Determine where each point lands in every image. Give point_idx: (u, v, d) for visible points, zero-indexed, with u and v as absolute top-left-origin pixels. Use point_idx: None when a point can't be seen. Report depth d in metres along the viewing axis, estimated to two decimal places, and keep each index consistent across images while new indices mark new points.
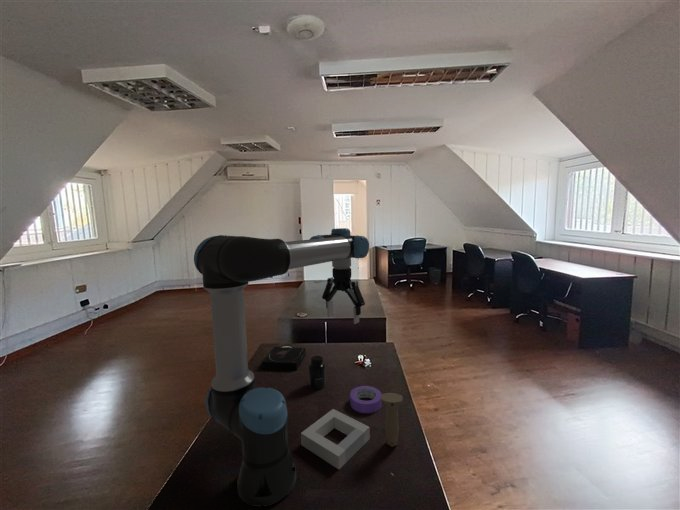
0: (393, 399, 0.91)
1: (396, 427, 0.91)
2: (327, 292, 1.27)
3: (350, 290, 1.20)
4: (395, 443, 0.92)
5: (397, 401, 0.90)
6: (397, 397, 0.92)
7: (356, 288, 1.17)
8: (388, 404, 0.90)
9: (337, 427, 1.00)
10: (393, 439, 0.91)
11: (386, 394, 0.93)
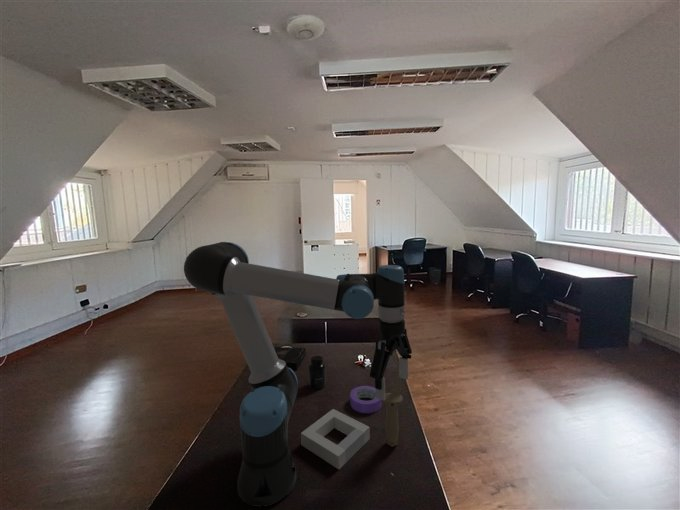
0: (393, 399, 0.91)
1: (396, 427, 0.91)
2: (403, 346, 0.96)
3: (385, 352, 0.87)
4: (395, 443, 0.92)
5: (397, 401, 0.90)
6: (397, 397, 0.92)
7: (377, 352, 0.84)
8: (388, 404, 0.90)
9: (337, 427, 1.00)
10: (393, 439, 0.91)
11: (386, 394, 0.93)
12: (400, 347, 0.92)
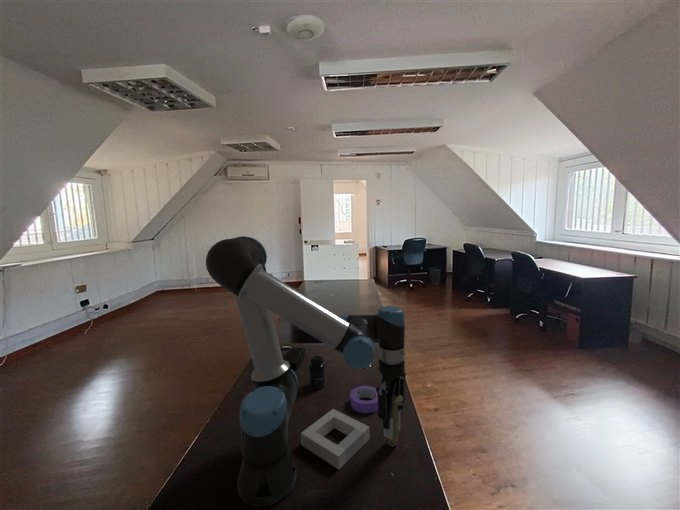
0: (393, 399, 0.91)
1: (396, 427, 0.91)
2: None
3: (387, 394, 0.89)
4: (395, 443, 0.92)
5: (397, 401, 0.90)
6: (397, 397, 0.92)
7: (380, 397, 0.87)
8: None
9: (337, 427, 1.00)
10: (393, 439, 0.91)
11: None
12: (397, 390, 0.92)
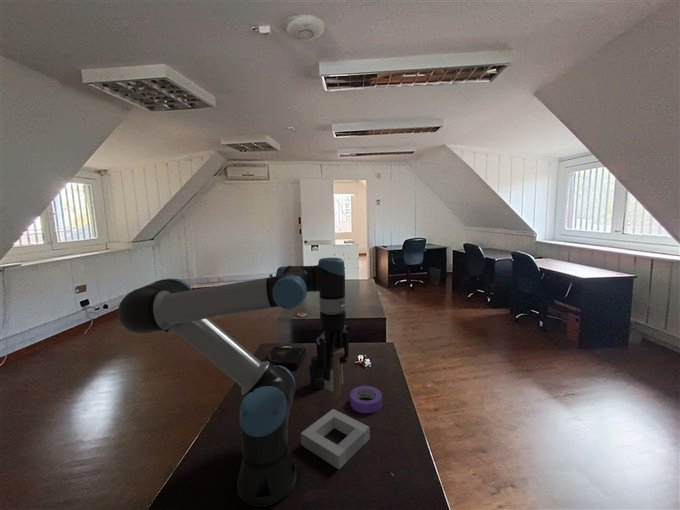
0: (334, 350, 0.90)
1: (337, 379, 0.91)
2: None
3: (327, 345, 0.89)
4: (337, 396, 0.91)
5: (337, 352, 0.89)
6: (338, 349, 0.91)
7: (319, 347, 0.86)
8: None
9: (337, 427, 1.00)
10: (334, 391, 0.91)
11: None
12: (339, 343, 0.91)
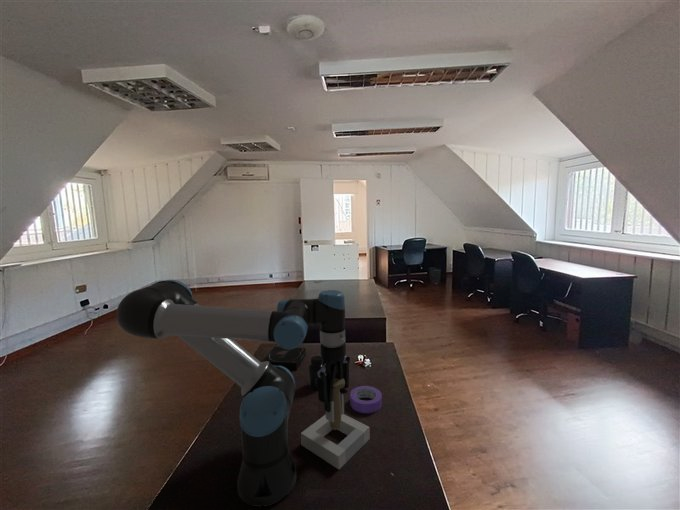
0: (335, 382, 0.91)
1: (338, 410, 0.92)
2: (342, 376, 0.96)
3: (328, 377, 0.90)
4: (337, 426, 0.93)
5: (338, 384, 0.90)
6: (339, 380, 0.92)
7: (319, 380, 0.88)
8: None
9: None
10: (335, 422, 0.92)
11: None
12: (339, 374, 0.92)
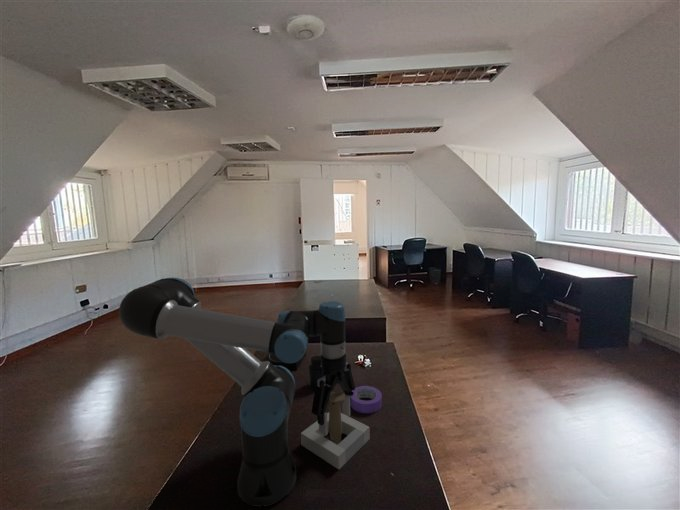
0: (335, 398, 0.92)
1: (338, 426, 0.92)
2: (347, 381, 0.98)
3: (326, 388, 0.89)
4: (338, 441, 0.93)
5: (338, 400, 0.91)
6: (339, 396, 0.93)
7: (317, 389, 0.87)
8: (329, 403, 0.91)
9: None
10: (335, 437, 0.93)
11: None
12: (342, 382, 0.94)
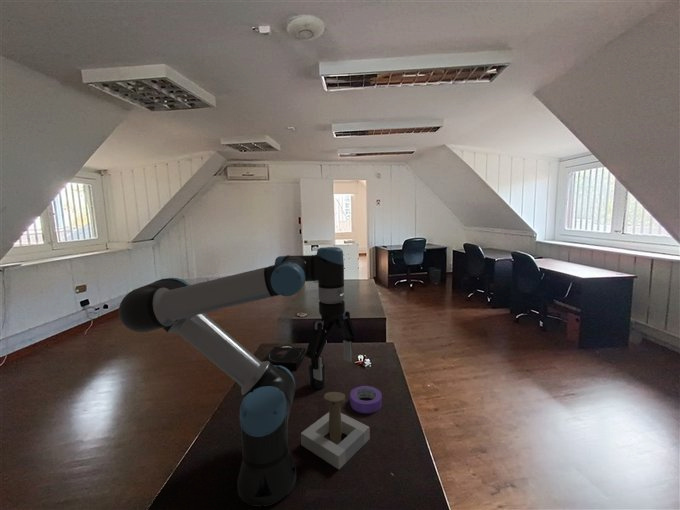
0: (335, 397, 0.92)
1: (338, 426, 0.92)
2: (347, 329, 0.97)
3: (323, 333, 0.87)
4: (338, 441, 0.93)
5: (338, 400, 0.91)
6: (339, 396, 0.93)
7: (314, 332, 0.85)
8: (329, 403, 0.91)
9: None
10: (335, 437, 0.93)
11: (330, 393, 0.94)
12: (342, 329, 0.92)
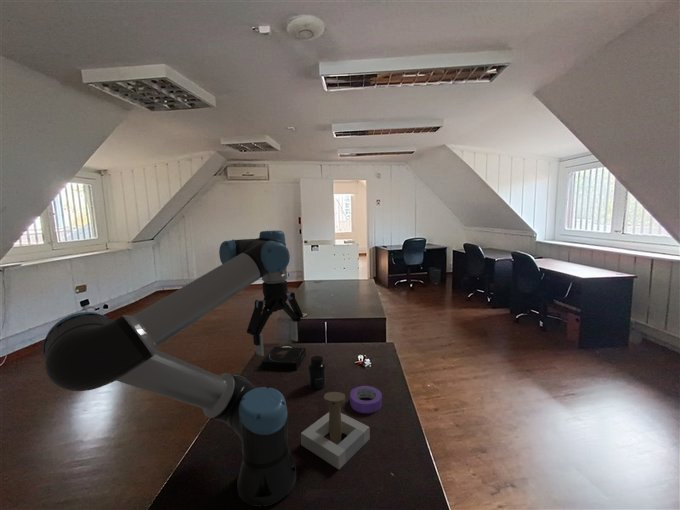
0: (335, 397, 0.92)
1: (338, 425, 0.92)
2: (294, 309, 1.02)
3: (265, 311, 0.92)
4: (338, 441, 0.93)
5: (338, 400, 0.91)
6: (339, 396, 0.93)
7: (255, 310, 0.90)
8: (329, 403, 0.91)
9: None
10: (335, 437, 0.93)
11: (330, 393, 0.94)
12: (286, 309, 0.97)
